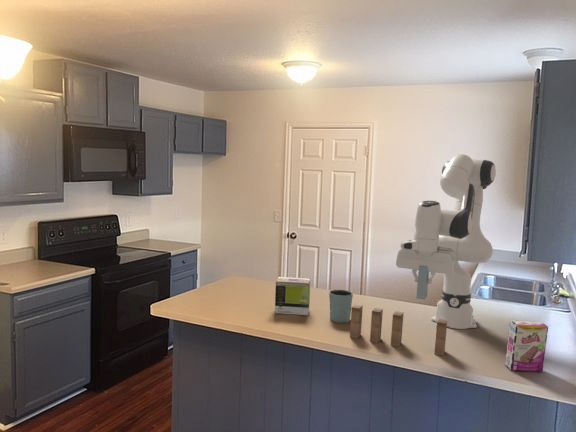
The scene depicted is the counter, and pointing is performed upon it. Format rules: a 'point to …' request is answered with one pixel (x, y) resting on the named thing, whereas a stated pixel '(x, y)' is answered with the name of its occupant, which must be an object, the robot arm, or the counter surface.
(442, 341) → the brown wooden block
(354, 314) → the domino
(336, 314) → the teal cup
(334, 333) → the counter surface
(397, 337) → the domino
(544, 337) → the candy bar box
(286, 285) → the tea box
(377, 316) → the domino
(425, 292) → the light blue domino
